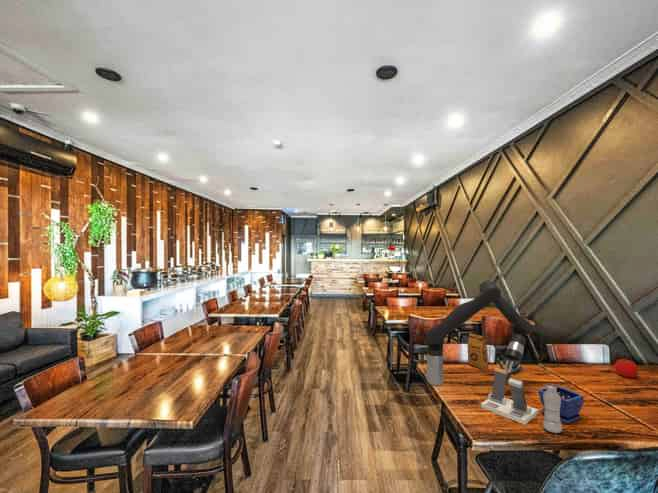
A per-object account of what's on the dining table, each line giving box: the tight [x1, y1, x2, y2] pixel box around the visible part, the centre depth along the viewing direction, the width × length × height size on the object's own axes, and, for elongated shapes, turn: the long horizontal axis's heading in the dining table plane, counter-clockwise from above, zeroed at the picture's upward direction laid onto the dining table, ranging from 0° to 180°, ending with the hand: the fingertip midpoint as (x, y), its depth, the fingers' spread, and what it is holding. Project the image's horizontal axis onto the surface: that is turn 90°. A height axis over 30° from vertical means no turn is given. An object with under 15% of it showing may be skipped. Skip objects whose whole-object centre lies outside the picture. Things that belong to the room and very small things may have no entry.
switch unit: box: [480, 392, 539, 426], centre depth 148 cm, size 16×20×5 cm
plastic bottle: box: [543, 383, 563, 434], centre depth 131 cm, size 6×7×20 cm
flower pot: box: [538, 385, 585, 425], centre depth 142 cm, size 13×13×12 cm
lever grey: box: [507, 377, 528, 412], centre depth 143 cm, size 2×5×16 cm, turn 37°
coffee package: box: [466, 333, 489, 370], centre depth 208 cm, size 10×12×22 cm
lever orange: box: [491, 366, 508, 403], centre depth 155 cm, size 2×5×16 cm, turn 36°
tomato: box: [614, 358, 639, 379], centre depth 189 cm, size 10×11×11 cm
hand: (505, 379), depth 159 cm, fingers closed
